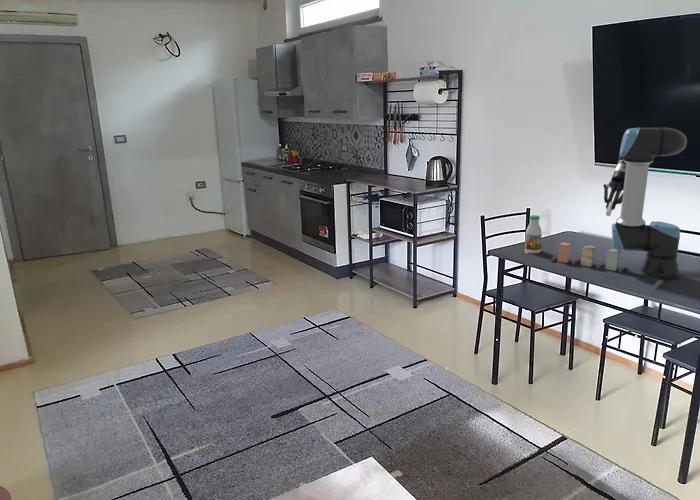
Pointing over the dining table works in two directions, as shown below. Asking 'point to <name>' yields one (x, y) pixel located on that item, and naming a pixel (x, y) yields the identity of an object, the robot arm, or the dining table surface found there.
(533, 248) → the milk bottle
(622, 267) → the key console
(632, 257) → the dining table surface
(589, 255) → the birch key
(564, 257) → the salmon pink block
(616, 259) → the sage green block
